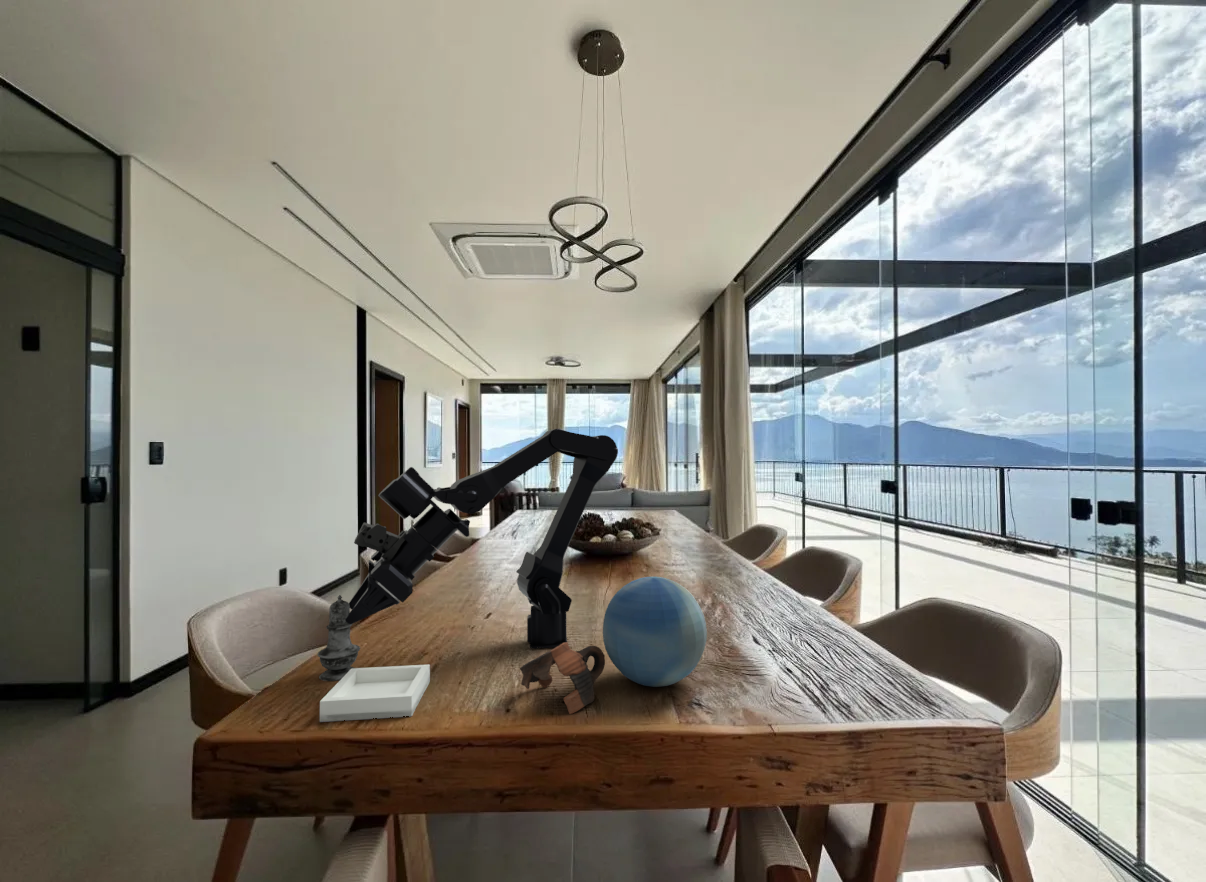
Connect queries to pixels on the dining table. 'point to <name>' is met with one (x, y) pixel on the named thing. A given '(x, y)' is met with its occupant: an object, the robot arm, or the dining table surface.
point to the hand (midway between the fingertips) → (348, 614)
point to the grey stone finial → (338, 644)
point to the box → (376, 693)
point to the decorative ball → (654, 631)
